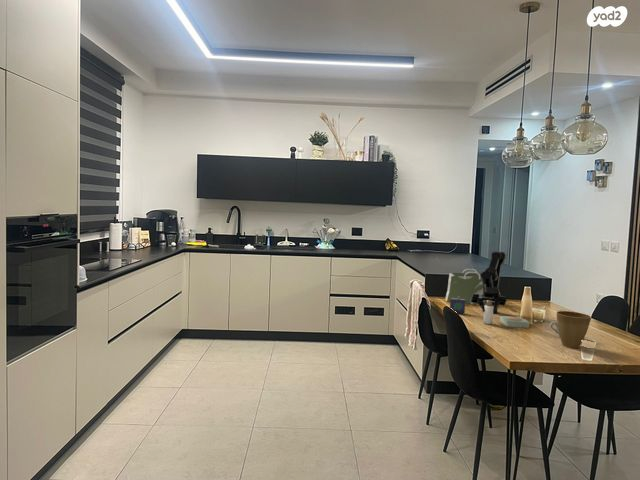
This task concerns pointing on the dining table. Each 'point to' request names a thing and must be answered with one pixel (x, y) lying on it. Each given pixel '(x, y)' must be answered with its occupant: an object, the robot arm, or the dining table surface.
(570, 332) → the plant pot
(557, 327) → the teacup
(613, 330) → the dining table surface
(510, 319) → the stacking base
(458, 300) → the flask
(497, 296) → the robot arm
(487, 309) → the cosmetic bottle
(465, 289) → the grocery bag
